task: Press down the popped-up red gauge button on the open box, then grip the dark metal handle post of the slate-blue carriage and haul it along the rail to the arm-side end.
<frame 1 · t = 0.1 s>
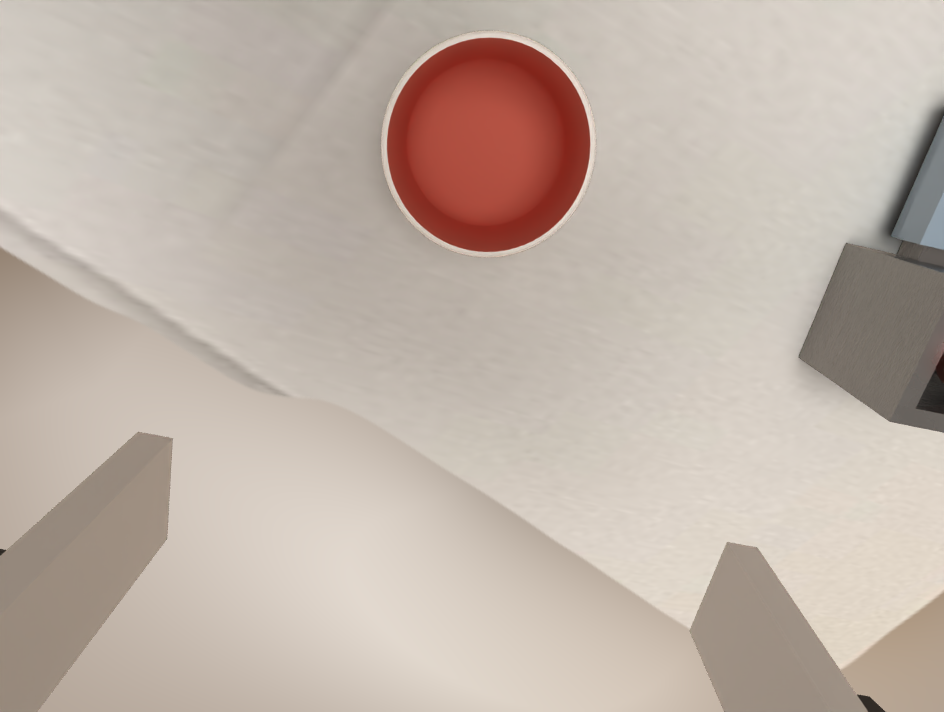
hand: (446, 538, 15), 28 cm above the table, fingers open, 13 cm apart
cup: (485, 145, 38), on the table
open box: (891, 317, 42), on the table
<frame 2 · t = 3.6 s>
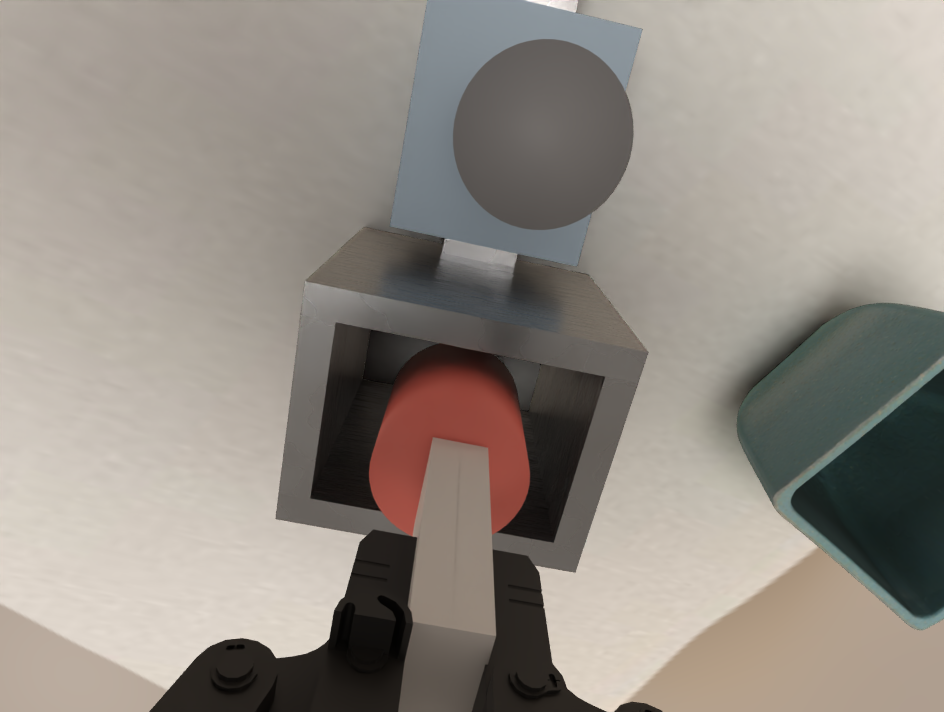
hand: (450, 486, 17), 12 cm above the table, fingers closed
gauge button: (452, 435, 19), point 10 cm above the table, slide at 0.3 cm, touching gripper
carriage: (516, 134, 18), point 8 cm above the table, slide at 5.0 cm
open box: (459, 336, 28), on the table
flower pot: (814, 386, 30), on the table
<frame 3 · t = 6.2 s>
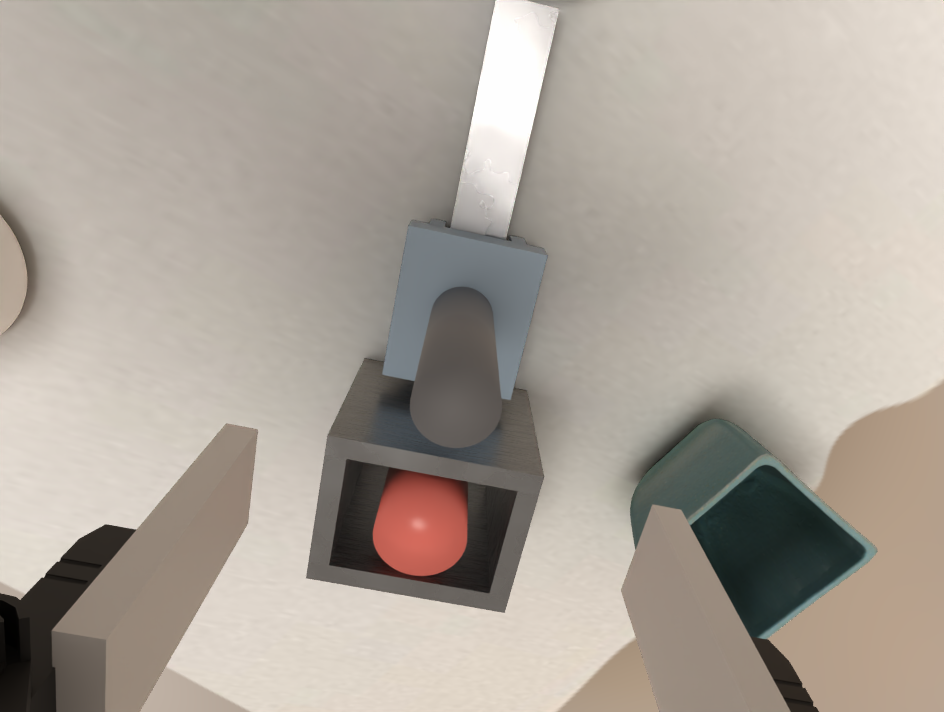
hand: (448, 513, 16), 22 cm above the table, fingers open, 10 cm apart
rail: (481, 209, 34), on the table
gauge button: (424, 506, 31), point 8 cm above the table, slide at 1.9 cm
carriage: (460, 338, 29), point 8 cm above the table, slide at 5.0 cm
open box: (434, 432, 39), on the table
flower pot: (696, 467, 40), on the table
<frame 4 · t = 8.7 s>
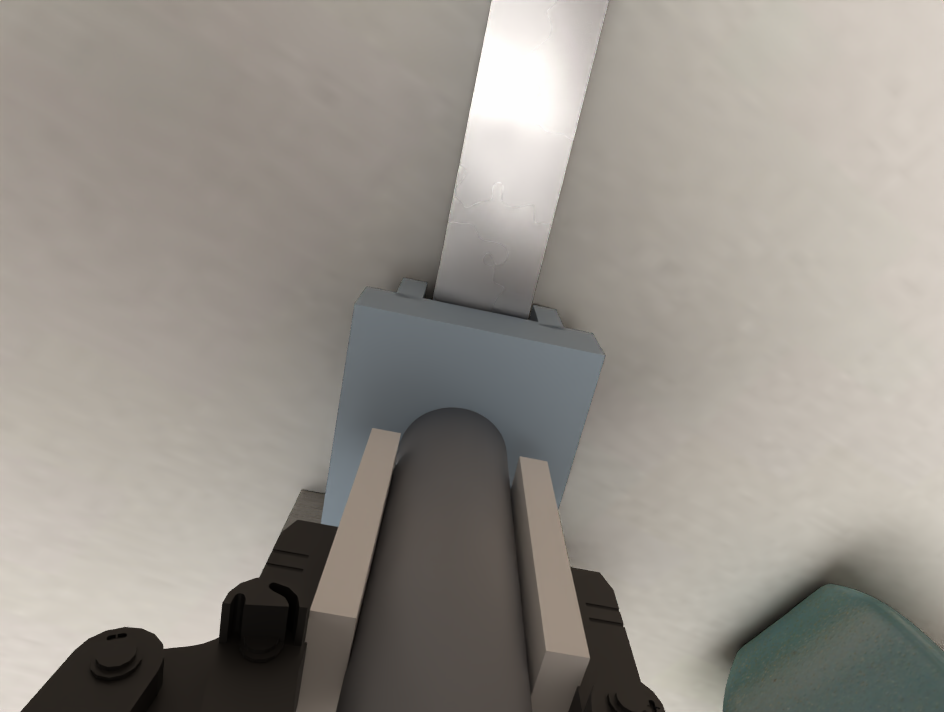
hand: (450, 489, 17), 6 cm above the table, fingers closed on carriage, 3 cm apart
rail: (486, 262, 21), on the table
carriage: (447, 528, 15), point 8 cm above the table, slide at 5.0 cm, touching gripper
open box: (412, 595, 25), on the table
flower pot: (811, 641, 26), on the table
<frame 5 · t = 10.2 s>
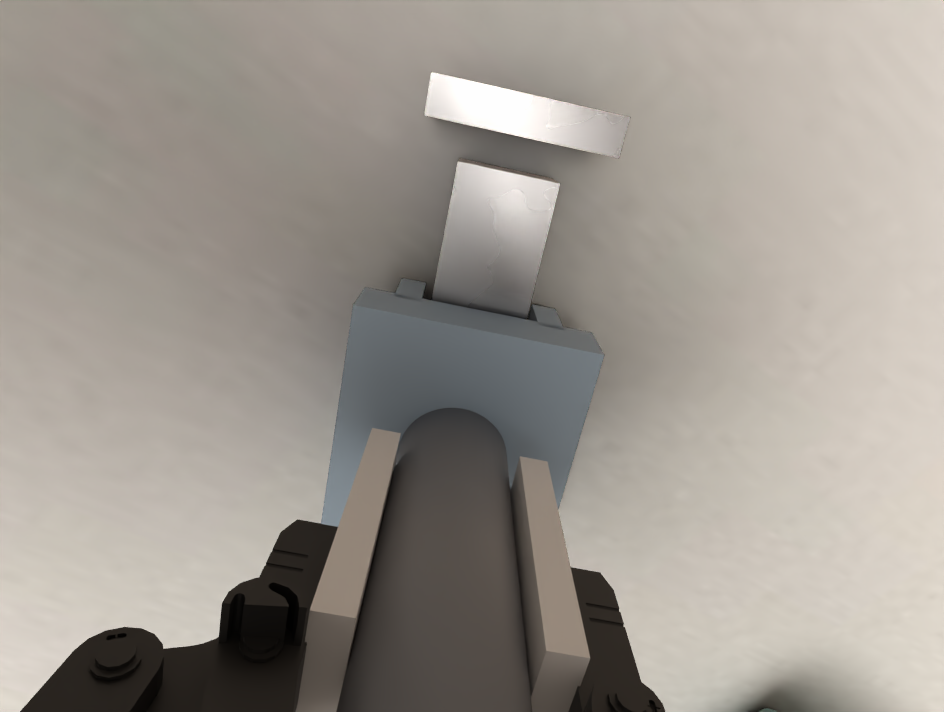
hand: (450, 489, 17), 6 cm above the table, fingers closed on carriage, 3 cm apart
rail: (446, 444, 23), on the table
carriage: (447, 529, 15), point 8 cm above the table, slide at -1.9 cm, touching gripper
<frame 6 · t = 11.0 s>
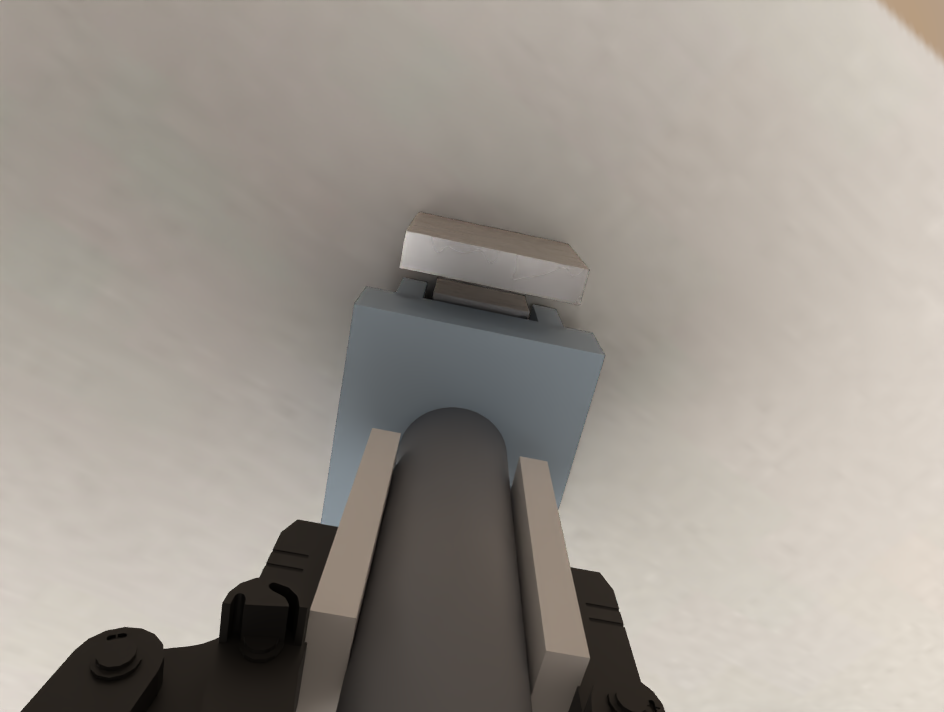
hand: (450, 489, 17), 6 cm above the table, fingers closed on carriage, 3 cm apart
rail: (426, 531, 24), on the table
carriage: (447, 528, 15), point 8 cm above the table, slide at -5.8 cm, touching gripper
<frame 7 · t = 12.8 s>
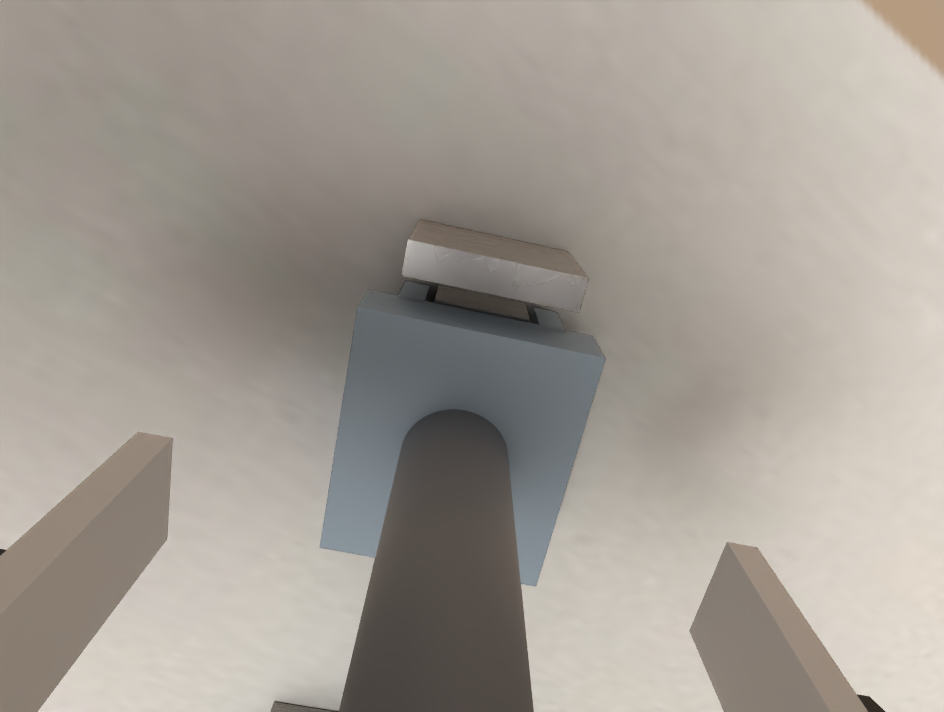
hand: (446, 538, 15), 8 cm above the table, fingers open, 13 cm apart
rail: (427, 535, 25), on the table
carriage: (449, 529, 15), point 8 cm above the table, slide at -6.0 cm
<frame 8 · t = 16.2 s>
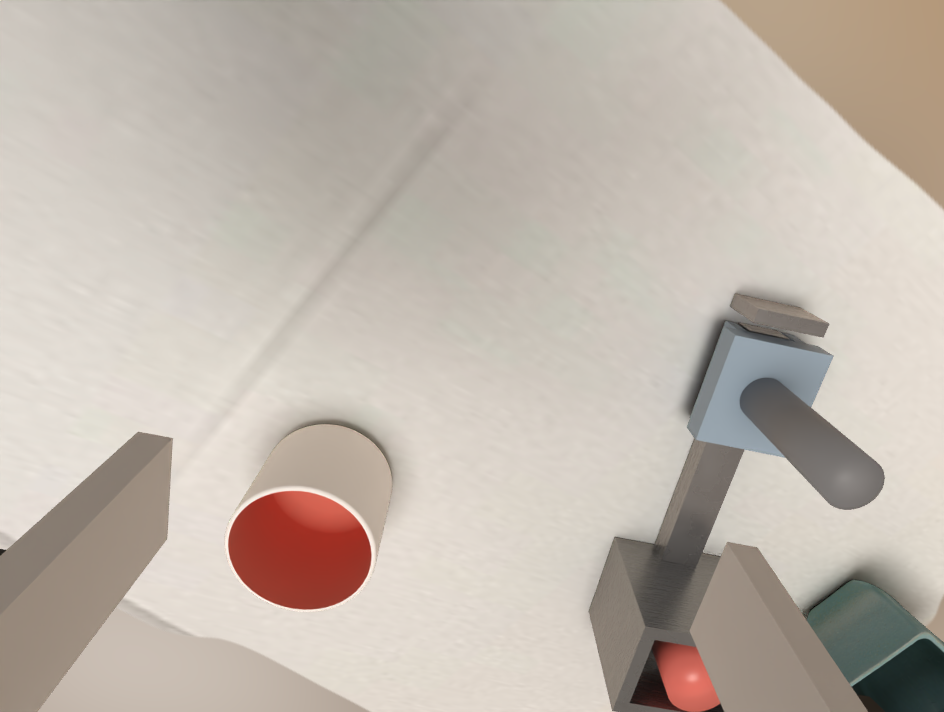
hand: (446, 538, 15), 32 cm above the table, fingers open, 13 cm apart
rail: (711, 444, 49), on the table
gauge button: (687, 660, 46), point 8 cm above the table, slide at 1.9 cm
carriage: (786, 421, 40), point 8 cm above the table, slide at -6.0 cm
cup: (333, 472, 51), on the table
open box: (657, 585, 54), on the table
flower pot: (844, 607, 55), on the table
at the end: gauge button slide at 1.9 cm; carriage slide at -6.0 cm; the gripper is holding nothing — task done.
